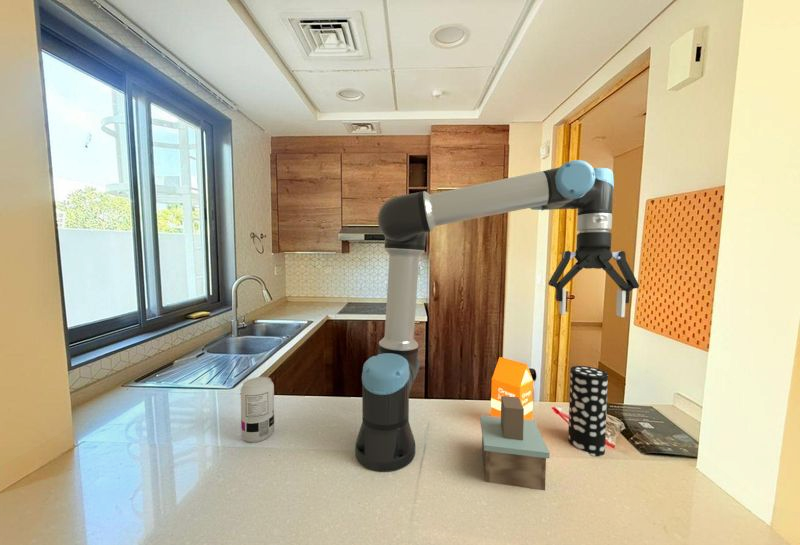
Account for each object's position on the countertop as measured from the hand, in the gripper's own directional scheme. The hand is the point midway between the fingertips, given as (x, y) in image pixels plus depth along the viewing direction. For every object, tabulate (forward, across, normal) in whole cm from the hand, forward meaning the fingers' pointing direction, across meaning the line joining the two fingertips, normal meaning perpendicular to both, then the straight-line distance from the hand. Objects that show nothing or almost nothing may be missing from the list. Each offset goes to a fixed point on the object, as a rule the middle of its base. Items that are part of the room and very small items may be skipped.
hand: (590, 315), depth 80 cm
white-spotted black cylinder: (+35, 0, 0) cm, 35 cm away
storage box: (+35, -21, -14) cm, 43 cm away
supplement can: (+35, -87, -13) cm, 95 cm away
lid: (+27, -21, -14) cm, 37 cm away
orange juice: (+35, -18, +5) cm, 40 cm away
